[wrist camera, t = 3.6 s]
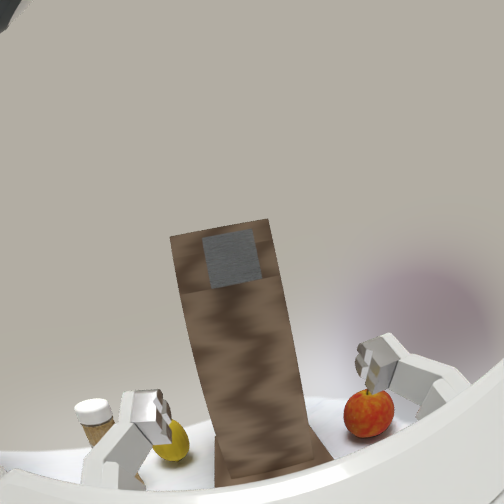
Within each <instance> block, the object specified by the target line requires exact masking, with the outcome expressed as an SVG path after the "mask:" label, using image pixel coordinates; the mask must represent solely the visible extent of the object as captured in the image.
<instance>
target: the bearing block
mask: <svg viewBox="0 0 504 504" xmlns="http://www.w3.org/2000/svg"><path fill="white" fill-rule="evenodd" d="M247 229H252V231H253V236H254V241H255V245H256V250H257V255H258V260H259V265H260V269H261V274H262V279H258V280H254V281H249V282H245V283H240V284H235V285H230V286H224V287H219V288H214V289H211V284H210V279H209V274H208V269H207V264H206V259H205V253H204V248H203V242H202V238H203V237H209V236H214V235H219V234H225V233H230V232H236V231H241V230H247ZM170 242H171V249H172V254H173V261H174V266H175V272H176V277H177V283H178V288H179V293H180V298H181V303H182V308H183V313H184V317H185V321H186V326H187V331H188V335H189V340H190V344H191V348H192V352H193V356H194V360H195V364H196V368H197V372H198V376H199V379H200V383H201V387H202V390H203V394H204V398H205V401H206V404H207V408H208V411H209V414H210V418H211V421H212V424H213V428H214V431H215V434H216V436H215V488H219V487H226V486H233V485H240V484H246V483H251V482H256V481H261V480H266V479H271V478H275V477H279V476H283V475H287V474H291V473H295V472H298V471H302V470H305V469H308V468H312V467H315V466H318V465H321V464H324V463H327V462H330V461H333V460H334V459H333V457H332V456H331V455H330V453H329V452H328V451H327V449H326V448H325V446H324V445H323V444H322V442H321V441H320V440H319V438H318V437H317V435H316V434H315V433H314V431H313V430H312V428H311V427H310V425H309V424H308V418H307V412H306V407H305V401H304V395H303V390H302V384H301V379H300V373H299V368H298V363H297V357H296V352H295V347H294V341H293V336H292V332H291V326H290V321H289V317H288V311H287V306H286V301H285V297H284V291H283V286H282V282H281V277H280V272H279V267H278V262H277V258H276V253H275V248H274V243H273V239H272V234H271V230H270V225H269V220H268V219H262V220H257V221H251V222H245V223H240V224H234V225H229V226H223V227H217V228H212V229H207V230H202V231H196V232H191V233H186V234H181V235H176V236H171V237H170Z"/></svg>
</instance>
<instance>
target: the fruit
mask: <svg viewBox="0 0 504 504" xmlns="http://www.w3.org/2000/svg"><path fill="white" fill-rule="evenodd" d="M393 417H394V404H393V401H392V399H391V397H390V395H389V394H388V393H386V392H385V391H381V392H378V393H376V394H373V395H372V394H371V393H370V391H369V390H368V388H367V389H365V390H362V391H360V392H358V393H356V394H354V395H353V396H352V397H351V398H350V399H349V400H348V401H347V403H346V405H345V408H344V423H345V426H346V427H347V429H348V430H349V431H350V432H351V433H352V434H354V435H355V436H357V437H361V438H365V437H372V436H376V435H378V434H380V433H382V432H383V431H385V430H386V429H387V428H388V426H389V425H390V424H391V422H392V419H393Z"/></svg>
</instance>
